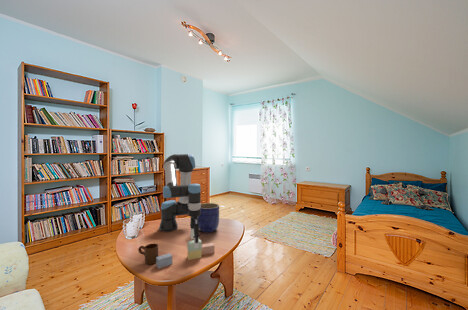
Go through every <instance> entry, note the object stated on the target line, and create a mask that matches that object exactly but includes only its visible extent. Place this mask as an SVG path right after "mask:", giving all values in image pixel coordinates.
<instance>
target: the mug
mask: <svg viewBox="0 0 468 310" xmlns="http://www.w3.org/2000/svg"><path fill="white" fill-rule="evenodd" d="M143 250H144V251H143ZM138 253H139V254H140V255H143V256H144V263H145V265H147V266H149V265H150V266H151V265H154V264H155V265H156V257H158V256H159V244H158V243H149V244H146V245H139V247H138Z"/></svg>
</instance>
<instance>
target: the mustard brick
mask: <svg viewBox="0 0 468 310" xmlns="http://www.w3.org/2000/svg"><path fill="white" fill-rule="evenodd" d="M195 259H202V253H201V250H197V251H191V252H188V251H187V260H188V261H190V260H195Z"/></svg>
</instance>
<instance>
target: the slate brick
mask: <svg viewBox="0 0 468 310" xmlns="http://www.w3.org/2000/svg"><path fill="white" fill-rule="evenodd" d="M171 265H173V255H172V253H171V252H169V253H165V254H162V255H158V257H156V263H155V266H156V268H157V269H161V268H164V267H168V266H171Z"/></svg>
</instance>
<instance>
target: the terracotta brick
mask: <svg viewBox="0 0 468 310" xmlns="http://www.w3.org/2000/svg"><path fill="white" fill-rule="evenodd" d="M210 254H215V244H214V242H209V243H203V244H202V250H201V256H204V255H210Z"/></svg>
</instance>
